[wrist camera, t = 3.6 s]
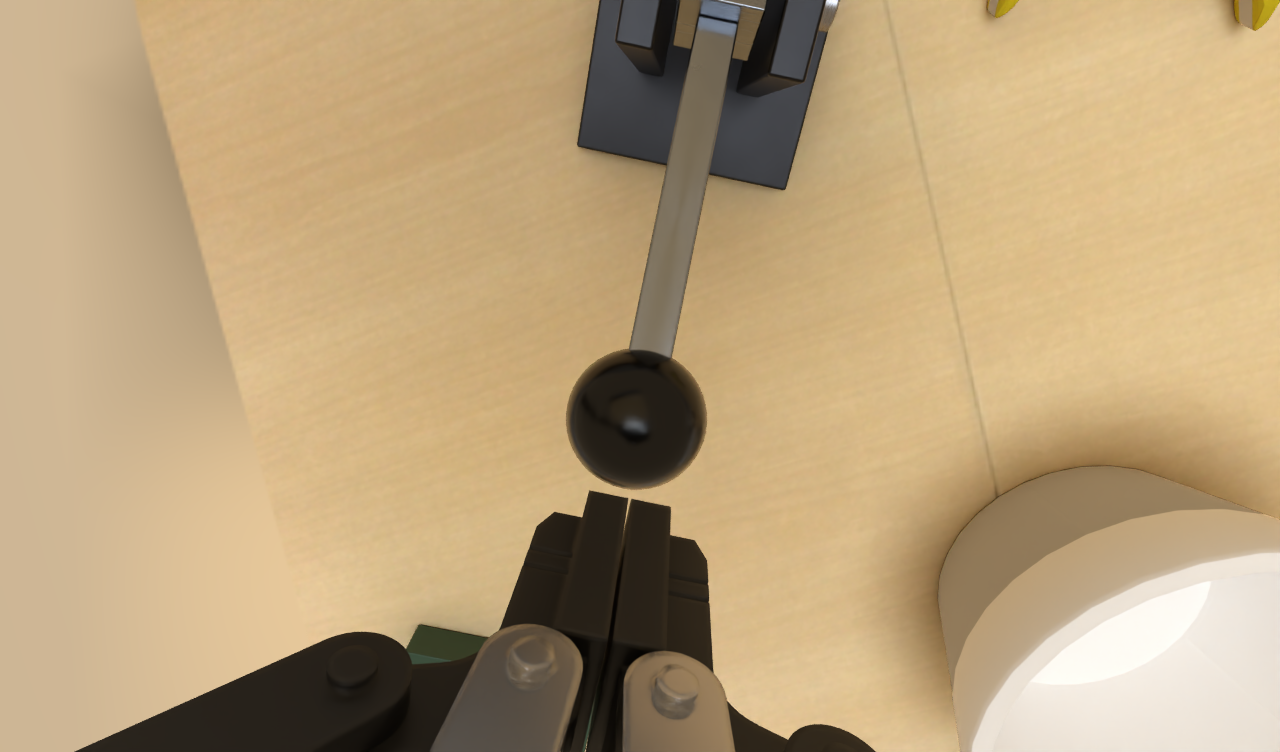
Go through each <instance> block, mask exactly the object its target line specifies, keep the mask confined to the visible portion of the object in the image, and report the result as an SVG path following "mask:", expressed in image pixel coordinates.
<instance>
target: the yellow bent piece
mask: <svg viewBox="0 0 1280 752" xmlns="http://www.w3.org/2000/svg"><path fill="white" fill-rule="evenodd" d="M1018 1H1019V0H988V4H987V10H988V11H989V12H990V13H991V14H992V15H993V16H994V17H995V18H999V17H1001V16H1003V15H1004V14H1006V13H1007V12H1008V11H1009V10H1010V9H1012V8H1013V7H1014V6H1015V4H1016V3H1017V2H1018ZM1279 2H1280V0H1234V10H1235V17H1236V19H1237V21H1238V23H1240V24H1242V25H1244V26H1246V27H1248V28H1250V29H1252V30H1254V31H1256V30H1257V29H1259V28H1261V27H1262V26H1263V25H1264V24H1265V23H1266V22H1267V21H1268V20H1269V18H1270V17H1271V15H1272V13H1273V12H1274V10H1275V9H1276V7H1277V5H1278V4H1279Z"/></svg>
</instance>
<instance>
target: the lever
mask: <svg viewBox="0 0 1280 752" xmlns="http://www.w3.org/2000/svg"><path fill="white" fill-rule="evenodd" d="M767 2H768V0H679V3H678V10H677V17H676V24H675V31H674V38H673V45H675V46H679V47H684V48H689V49H691V51H690V56H689V60H688V65H687V70H686V75H685V80H684V85H683V89H682V94H681V99H680V104H679V109H678V114H677V118H676V123H675V128H674V133H673V138H672V143H671V147H670V152H669V157H668V162H667V167H666V172H665V176H664V181H663V186H662V191H661V196H660V201H659V206H658V210H657V215H656V220H655V225H654V230H653V235H652V239H651V244H650V249H649V254H648V259H647V264H646V268H645V273H644V278H643V283H642V288H641V293H640V297H639V302H638V307H637V312H636V317H635V322H634V326H633V331H632V336H631V341H630V346H629V349H623V350H620V351H616V352H613V353H610V354H608V355H606V356H604V357H602V358H600V359H598V360H597V361H596V362H594V363H593V364H592V365H590V366H589V367H588V368H587V369H586V370H585V371H584V372H583V374H582V375H581V376H580V378H579V379H578V380H577V382H576V384H575V386H574V387H573V390H572V392H571V394H570V397H569V401H568V404H567V411H566V426H567V433H568V437H569V441H570V444H571V446H572V448H573V451H574V452H575V454H576V456H577V458H578V459H579V460H580V462H581V463H582V464H583V466H584V467H585V468H586V469H587V470H588V471H589V472H591V473H592V474H593V475H594V476H596V477H597V478H599V479H600V480H602V481H604V482H606V483H608V484H610V485H613V486H616V487H620V488H624V489H632V490H641V489H649V488H653V487H657V486H660V485H663V484H665V483H667V482H669V481H671V480H673V479H674V478H676V477H677V476H679V475H680V474H681V473H683V472H684V471H685V470H686V469H687V468H688V467H689V466H690V464H691V463H692V462H693V460H694V459H695V458H696V456H697V454H698V452H699V451H700V448H701V446H702V444H703V441H704V437H705V433H706V427H707V411H706V404H705V401H704V397H703V394H702V392H701V389H700V387H699V385H698V384H697V382H696V380H695V379H694V378H693V376H692V375H691V374H690V372H689V371H688V370H687V369H686V368H685V367H684V366H683V365H681V364H680V363H679V362H677V361H676V360H675V359H673V358H672V353H673V349H674V344H675V339H676V334H677V329H678V324H679V319H680V314H681V309H682V304H683V299H684V294H685V289H686V284H687V279H688V274H689V269H690V264H691V259H692V254H693V249H694V245H695V240H696V235H697V230H698V225H699V220H700V215H701V210H702V205H703V200H704V195H705V190H706V185H707V180H708V175H709V170H710V165H711V160H712V155H713V150H714V145H715V140H716V136H717V131H718V126H719V121H720V116H721V111H722V106H723V101H724V96H725V91H726V86H727V81H728V76H729V71H730V66H731V61H732V58H735V59H740V60H744V61H747V60H748V59H749V56H750V53H751V50H752V47H753V45H754V42H755V39H756V36H757V33H758V31H759V28H760V25H761V22H762V19H763V17H764V14H765V11H766V7H767Z"/></svg>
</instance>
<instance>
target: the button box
mask: <svg viewBox="0 0 1280 752" xmlns="http://www.w3.org/2000/svg"><path fill="white" fill-rule="evenodd" d="M487 639H488V638H484V637H479V636H474V635H469V634H464V633H459V632H454V631H449V630H444V629H439V628H434V627H429V626H424V625H418V627H417V629H416V631H415V633H414V635H413V637H412V639H411V640H410V642H409V644H408V646H407V648H406V651H407V652H408V653H409V656H410V658H411V661H412V664H425V663H440V662H448V661H454V660H458V659H462V658H465V657H467V656H470V655H472V654H474V653H476V652H478V651H479V650H480V649H481V647H482V645H483V644H484V642H485V641H486V640H487ZM593 703H594V702H593ZM592 709H593V707H592ZM591 716H592V711H591V715H590V720H589V724H588V729H587V733H586V737H585V742H584V746H583V750H582V752H585V747H586V743H587V739H588V734H589V729H590V722H591Z"/></svg>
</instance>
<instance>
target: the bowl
mask: <svg viewBox="0 0 1280 752" xmlns="http://www.w3.org/2000/svg"><path fill="white" fill-rule="evenodd" d="M938 603H939V609H940V616H941V622H942V629H943V635H944V642H945V648H946V655H947V661H948V668H949V674H950V681H951V687H952V700H953V707H954V713H955V720H956V726H957V733H958V739H959V746H960V752H1280V519H1278V518H1275V517H1272V516H1269V515H1266V514H1263V513H1260V512H1257V511H1254V510H1252V509H1249V508H1246V507H1243V506H1241V505H1238V504H1235V503H1232V502H1229V501H1227V500H1224V499H1221V498H1218V497H1216V496H1213V495H1210V494H1207V493H1204V492H1202V491H1199V490H1196V489H1193V488H1191V487H1188V486H1185V485H1182V484H1179V483H1177V482H1174V481H1171V480H1168V479H1165V478H1162V477H1159V476H1156V475H1153V474H1150V473H1147V472H1144V471H1141V470H1138V469H1131V468H1123V467H1116V466H1090V467H1078V468H1073V469H1068V470H1063V471H1058V472H1053V473H1050V474H1047V475H1044V476H1042V477H1039V478H1036V479H1033V480H1031V481H1028V482H1025V483H1023V484H1021V485H1019V486H1018V487H1016V488H1014V489H1012V490H1010V491H1009V492H1007V493H1005V494H1003V495H1001V496H1000V497H998V498H997V499H996V500H994V501H993V502H992V503H990V504H989V505H988V506H987V507H985V508H984V509H983V510H982V511H980V512H979V513H978V514H977V515H976V516H975V517H974V518H973V519H972V520H971V521H970V523H969V524H968V525H967V526H966V527H965V528H964V529H963V530H962V531H961V533H960V534H959V535H958V537H957V539H956V540H955V542H954V544H953V545H952V547H951V549H950V550H949V552H948V554H947V556H946V559H945V562H944V565H943V568H942V571H941V574H940V579H939V589H938Z"/></svg>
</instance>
